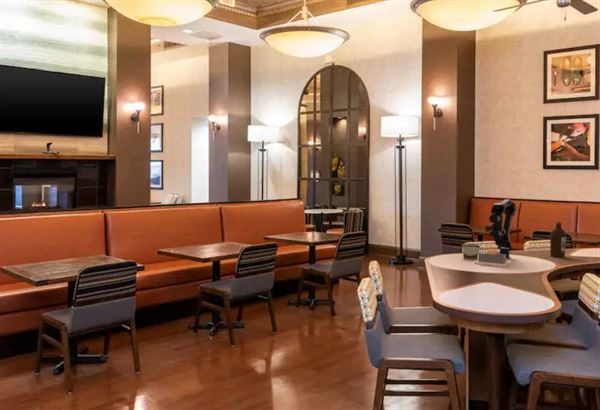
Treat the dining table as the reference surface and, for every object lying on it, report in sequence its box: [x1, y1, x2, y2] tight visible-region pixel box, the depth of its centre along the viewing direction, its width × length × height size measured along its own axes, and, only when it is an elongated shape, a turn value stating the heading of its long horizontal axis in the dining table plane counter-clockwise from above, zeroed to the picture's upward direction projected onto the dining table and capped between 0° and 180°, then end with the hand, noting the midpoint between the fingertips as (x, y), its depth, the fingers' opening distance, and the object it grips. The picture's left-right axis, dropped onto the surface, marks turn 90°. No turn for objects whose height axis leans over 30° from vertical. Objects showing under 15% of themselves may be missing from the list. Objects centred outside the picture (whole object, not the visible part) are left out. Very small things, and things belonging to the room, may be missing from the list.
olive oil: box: [549, 221, 567, 258], centre depth 406 cm, size 11×11×25 cm
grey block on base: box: [474, 251, 514, 268], centre depth 373 cm, size 18×20×7 cm
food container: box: [461, 243, 481, 260], centre depth 393 cm, size 12×6×10 cm, turn 84°
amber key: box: [487, 248, 498, 254], centre depth 369 cm, size 5×5×3 cm
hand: (497, 244), depth 384 cm, fingers open, 4 cm apart
